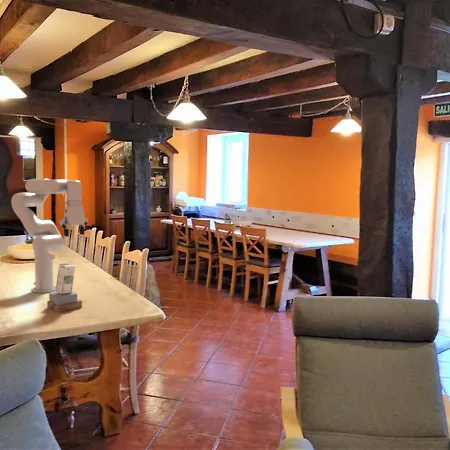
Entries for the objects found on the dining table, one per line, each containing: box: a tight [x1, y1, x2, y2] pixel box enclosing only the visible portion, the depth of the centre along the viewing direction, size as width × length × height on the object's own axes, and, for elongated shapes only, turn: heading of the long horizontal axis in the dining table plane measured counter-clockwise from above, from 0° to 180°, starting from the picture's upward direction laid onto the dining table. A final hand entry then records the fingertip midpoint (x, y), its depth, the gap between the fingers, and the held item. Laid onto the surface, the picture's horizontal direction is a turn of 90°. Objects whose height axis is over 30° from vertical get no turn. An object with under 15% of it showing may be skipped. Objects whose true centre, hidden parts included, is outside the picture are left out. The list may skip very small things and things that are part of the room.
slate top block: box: [48, 291, 78, 305], centre depth 236 cm, size 10×10×4 cm
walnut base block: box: [46, 298, 83, 314], centre depth 237 cm, size 12×12×4 cm
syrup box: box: [55, 262, 76, 294], centre depth 235 cm, size 6×6×14 cm
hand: (74, 235), depth 252 cm, fingers open, 9 cm apart
